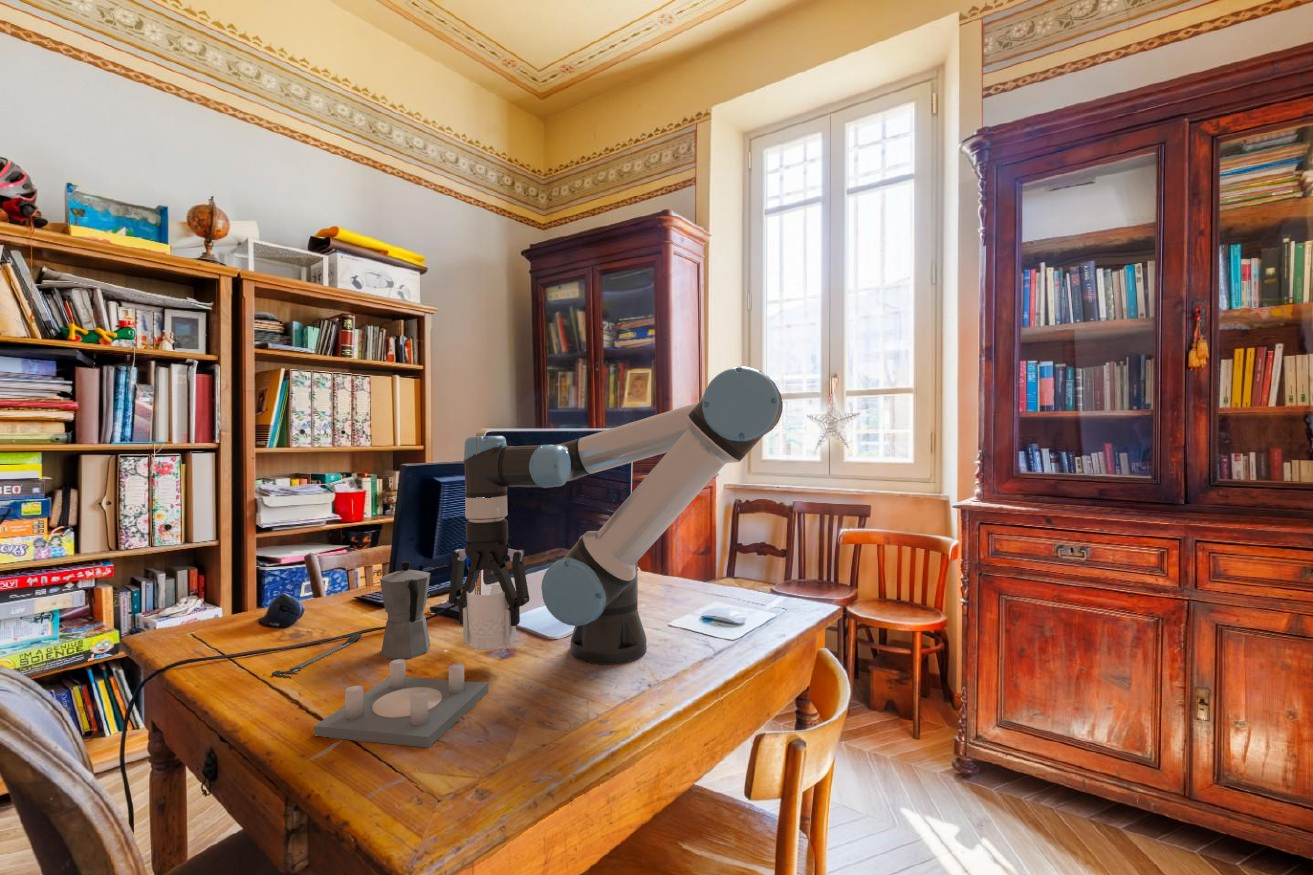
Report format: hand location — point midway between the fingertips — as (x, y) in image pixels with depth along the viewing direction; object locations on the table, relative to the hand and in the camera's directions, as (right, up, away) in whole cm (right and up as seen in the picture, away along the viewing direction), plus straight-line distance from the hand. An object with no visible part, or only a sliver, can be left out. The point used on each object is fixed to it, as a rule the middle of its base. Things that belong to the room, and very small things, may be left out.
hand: (489, 641), depth 111 cm
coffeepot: (-18, -5, +7) cm, 20 cm away
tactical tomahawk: (-33, -5, +6) cm, 34 cm away
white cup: (0, -1, 0) cm, 1 cm away
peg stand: (-8, -5, -18) cm, 20 cm away
